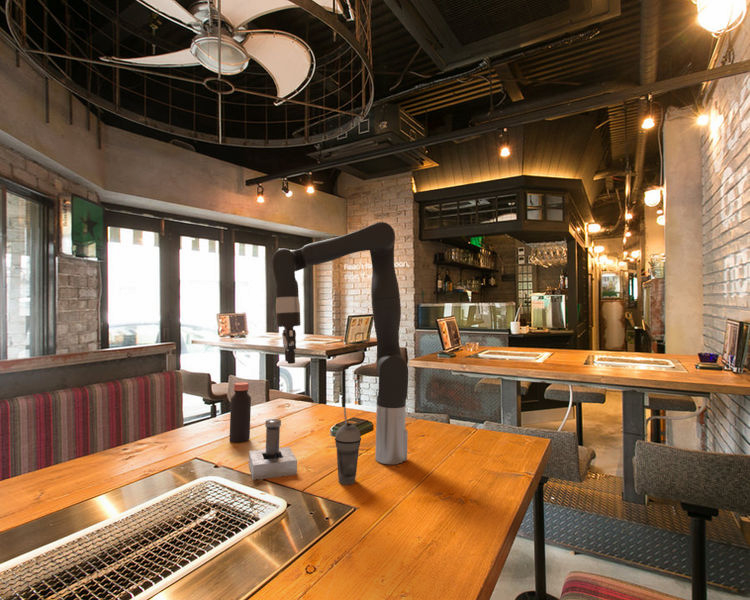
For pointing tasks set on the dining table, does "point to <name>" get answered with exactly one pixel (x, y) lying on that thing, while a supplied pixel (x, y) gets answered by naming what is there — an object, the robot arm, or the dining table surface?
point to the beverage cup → (347, 452)
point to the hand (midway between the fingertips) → (290, 362)
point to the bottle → (240, 413)
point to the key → (272, 438)
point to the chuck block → (272, 464)
